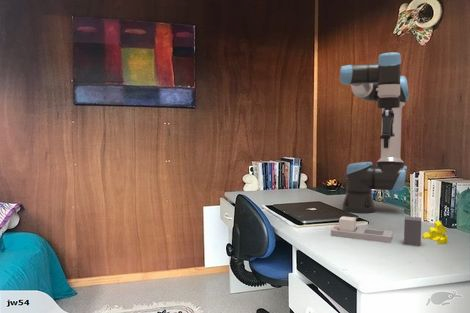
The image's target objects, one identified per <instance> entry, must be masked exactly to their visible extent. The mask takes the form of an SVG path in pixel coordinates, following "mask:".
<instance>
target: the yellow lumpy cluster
mask: <svg viewBox="0 0 470 313" xmlns="http://www.w3.org/2000/svg"><path fill="white" fill-rule="evenodd" d="M446 234H448V230H447V228H446V227H445V226H444V224H442V222H441V221H440V220H437V221H435V222H434V226H433V227H432V226H430V228H429V229H428V232H427V231H425V232H424V233H423V234H422V238H423V239H424V240H431V241H433V242H435V241H437V243H436V244H437V245H445V244H446V243H448V242H449V237H448V235H446Z"/></svg>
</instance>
